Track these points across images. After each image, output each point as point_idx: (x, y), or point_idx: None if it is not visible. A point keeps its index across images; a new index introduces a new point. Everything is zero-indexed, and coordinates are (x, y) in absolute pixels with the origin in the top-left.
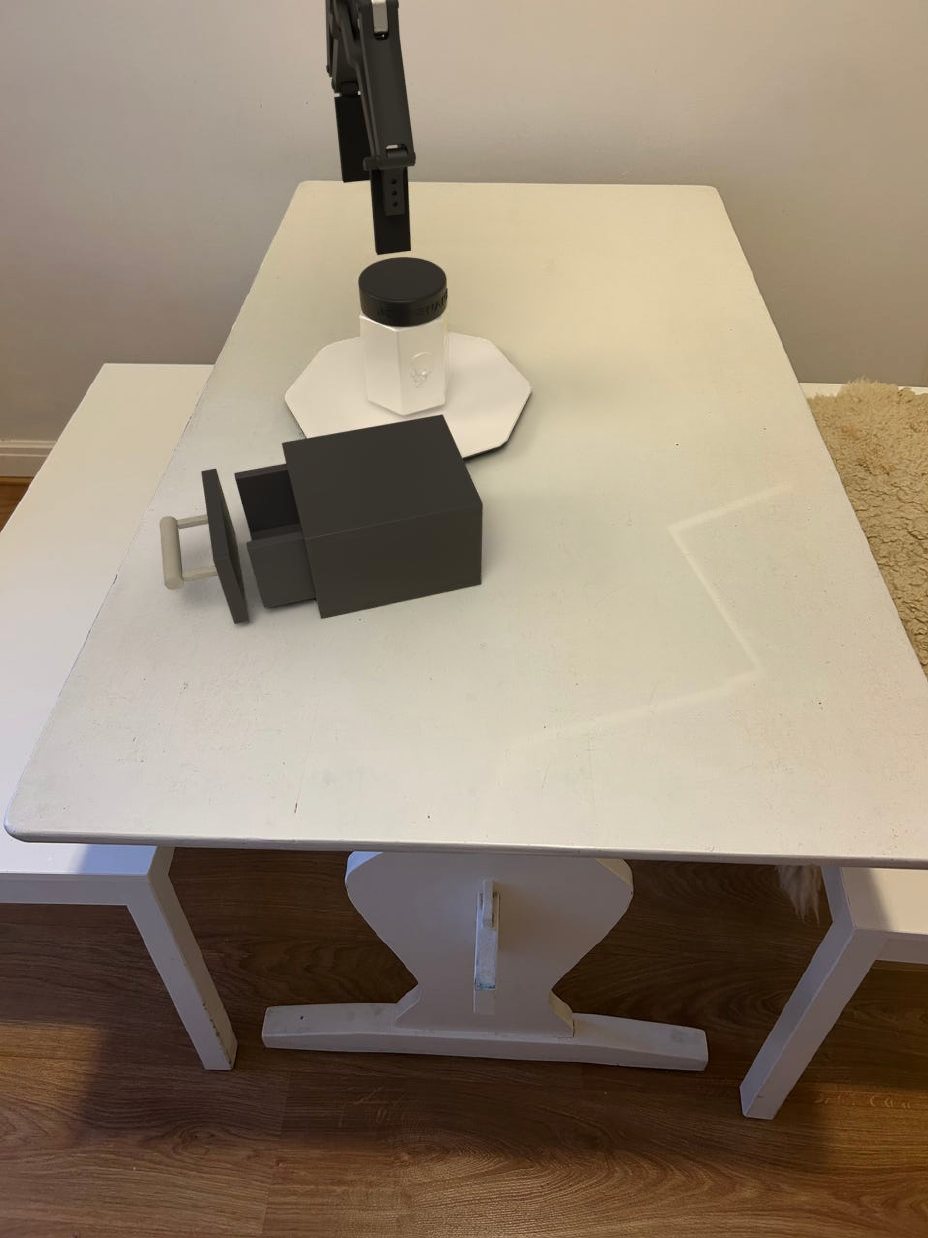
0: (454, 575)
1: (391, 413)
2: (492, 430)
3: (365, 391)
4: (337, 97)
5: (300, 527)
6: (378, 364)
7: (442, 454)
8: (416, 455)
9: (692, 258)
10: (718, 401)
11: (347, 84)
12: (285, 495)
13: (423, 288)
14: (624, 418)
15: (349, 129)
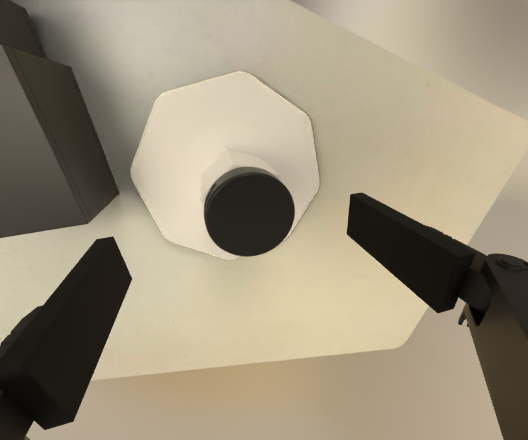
0: None
1: None
2: (181, 233)
3: (248, 146)
4: (467, 260)
5: None
6: (216, 167)
7: (15, 219)
8: (7, 197)
9: (341, 339)
10: (211, 340)
11: (488, 295)
12: None
13: (228, 236)
14: (201, 300)
15: (401, 244)
